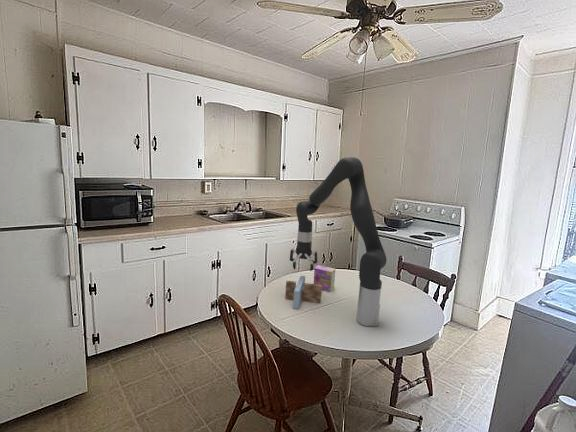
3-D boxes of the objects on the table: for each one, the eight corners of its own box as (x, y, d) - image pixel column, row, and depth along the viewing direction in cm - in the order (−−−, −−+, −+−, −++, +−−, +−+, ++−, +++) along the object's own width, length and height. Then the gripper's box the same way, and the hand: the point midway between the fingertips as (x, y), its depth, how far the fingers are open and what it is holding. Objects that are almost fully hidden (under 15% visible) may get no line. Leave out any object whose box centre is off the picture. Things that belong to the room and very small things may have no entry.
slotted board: (320, 301, 158) (322, 285, 156) (320, 303, 156) (321, 286, 154) (285, 296, 161) (286, 280, 159) (285, 298, 159) (286, 282, 157)
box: (312, 287, 174) (314, 267, 172) (316, 284, 179) (318, 264, 177) (330, 292, 169) (332, 271, 167) (334, 288, 174) (335, 268, 172)
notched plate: (298, 309, 149) (299, 291, 147) (293, 308, 149) (294, 290, 147) (304, 291, 168) (305, 276, 166) (299, 291, 168) (300, 275, 167)
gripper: (289, 240, 157) (288, 270, 160) (317, 242, 155) (315, 273, 158) (292, 236, 165) (290, 265, 168) (319, 239, 162) (317, 268, 165)
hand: (302, 269), depth 163 cm, fingers open, 8 cm apart
